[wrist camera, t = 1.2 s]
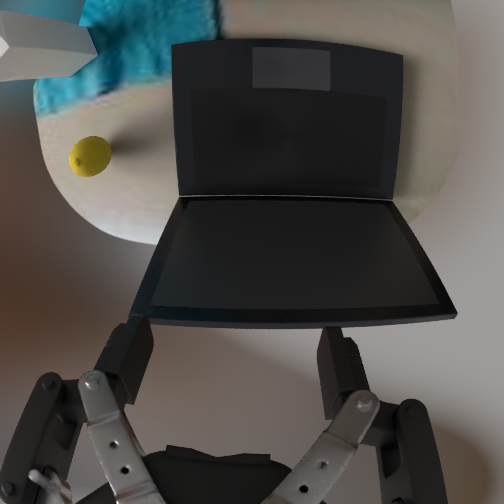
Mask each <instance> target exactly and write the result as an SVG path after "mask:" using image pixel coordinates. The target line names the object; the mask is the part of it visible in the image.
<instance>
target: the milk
mask: <svg viewBox="0 0 504 504" xmlns="http://www.w3.org/2000/svg"><path fill="white" fill-rule="evenodd" d="M97 56H98V53H97V51H96V49H95V46H94V44H93V42H92V39H91V37H90V34H89V32H88V30H87V28H86V27H83V26H79V25H75V24H71V23H67V22H63V21H59V20H54V19H50V18H45V17H39V16H35V15H29V14H23V13H17V12H10V11H0V82H2V81H10V80H22V79H37V78H69V77H71V76H72V75H73V74H75V73H76V72H77V71H78V70H80V69H81V68H82V67H83V66H85V65H86V64H87V63H89V62H90V61H91V60H93V59H94V58H95V57H97Z"/></svg>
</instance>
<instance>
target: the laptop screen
mask: <svg viewBox="0 0 504 504" xmlns="http://www.w3.org/2000/svg"><path fill="white" fill-rule="evenodd" d="M131 314H139V315H147V316H148V318H149V322H150V324H157V325H171V326H187V327H207V328H235V329H317V328H318V329H319V328H323V327H324V326H340V327H341V328H346V327H367V326H382V325H395V324H408V323H419V322H429V321H438V320H447V319H454V318H455V317H456V316H457V314H458V313H457V311H456V309H455V307H454V305H453V303H452V301H451V299H450V297H449V295H448V293H447V291H446V289H445V287H444V285H443V283H442V281H441V279H440V278H439V276H438V274H437V272H436V270H435V269H434V267H433V265H432V263H431V262H430V260H429V258H428V256H427V255H426V253H425V251H424V250H423V248H422V246H421V245H420V243H419V241H418V240H417V238H416V236H415V235H414V233H413V232H412V230H411V228H410V227H409V225H408V224H407V222H406V221H405V219H404V218H403V216H402V215H401V213H400V212H399V210H398V209H397V207H396V206H395V204H394V203H393V201H388V200H373V199H354V198H332V197H300V196H194V197H179V199H178V201H177V203H176V205H175V207H174V209H173V211H172V213H171V216H170V218H169V220H168V222H167V224H166V226H165V229H164V231H163V233H162V235H161V237H160V240H159V242H158V244H157V247H156V249H155V251H154V253H153V256H152V258H151V261H150V263H149V265H148V268H147V270H146V272H145V275H144V277H143V280H142V282H141V285H140V287H139V290H138V292H137V295H136V298H135V300H134V303H133V305H132V308H131V310H130V313H129V316H128V318H129V317H130V315H131Z"/></svg>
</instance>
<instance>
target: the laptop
mask: <svg viewBox="0 0 504 504" xmlns="http://www.w3.org/2000/svg"><path fill="white" fill-rule="evenodd" d="M402 93H403V55H399V54H395V53H391V52H386V51H381V50H376V49H371V48H365V47H359V46H353V45H346V44H339V43H330V42H321V41H310V40H295V39H225V40H210V41H199V42H190V43H181V44H174V45H172V96H173V119H174V136H175V152H176V165H177V177H178V188H179V196H192V195H303V196H333V197H355V198H373V199H388V200H392V199H393V192H394V185H395V178H396V170H397V161H398V152H399V141H400V129H401V115H402Z"/></svg>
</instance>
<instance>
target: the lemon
mask: <svg viewBox="0 0 504 504" xmlns="http://www.w3.org/2000/svg"><path fill="white" fill-rule="evenodd" d="M110 159H111V148H110V146H109V144H108V142H107V141H106V140H105V139H103V138H101V137H97V136H90V137H87V138H84V139H82V140H81V141H79V142H78V143H77V144H76V145H75V146H74V147H73V148H72V150H71V153H70V157H69V163H70V166H71V169H72V170H73V171H74V172H75V173H76V174H77V175H79V176H83V177H90V176H94V175H97V174H99V173H101V172H102V171H103V170H104V169H105V168H106V167H107V165H108V164H109V162H110Z"/></svg>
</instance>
